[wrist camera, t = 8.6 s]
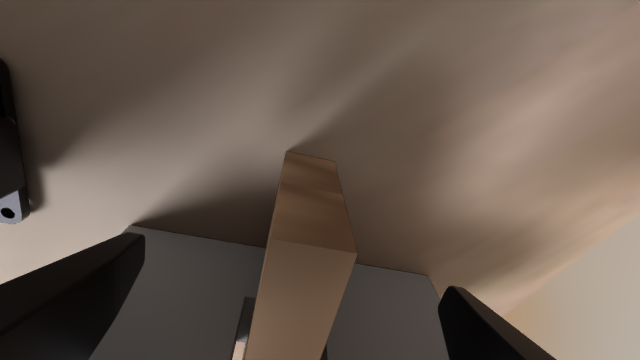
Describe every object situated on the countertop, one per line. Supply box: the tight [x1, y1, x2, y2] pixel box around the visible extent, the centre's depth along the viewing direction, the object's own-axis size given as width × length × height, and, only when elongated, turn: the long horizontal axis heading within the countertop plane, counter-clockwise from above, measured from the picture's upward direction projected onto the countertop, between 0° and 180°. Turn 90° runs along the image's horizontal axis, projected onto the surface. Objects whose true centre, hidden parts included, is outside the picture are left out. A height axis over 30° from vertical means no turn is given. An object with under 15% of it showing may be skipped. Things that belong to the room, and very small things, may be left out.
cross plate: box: [242, 151, 358, 360], centre depth 12 cm, size 2×12×6 cm, turn 167°
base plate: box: [89, 225, 449, 360], centre depth 12 cm, size 14×2×6 cm, turn 76°
